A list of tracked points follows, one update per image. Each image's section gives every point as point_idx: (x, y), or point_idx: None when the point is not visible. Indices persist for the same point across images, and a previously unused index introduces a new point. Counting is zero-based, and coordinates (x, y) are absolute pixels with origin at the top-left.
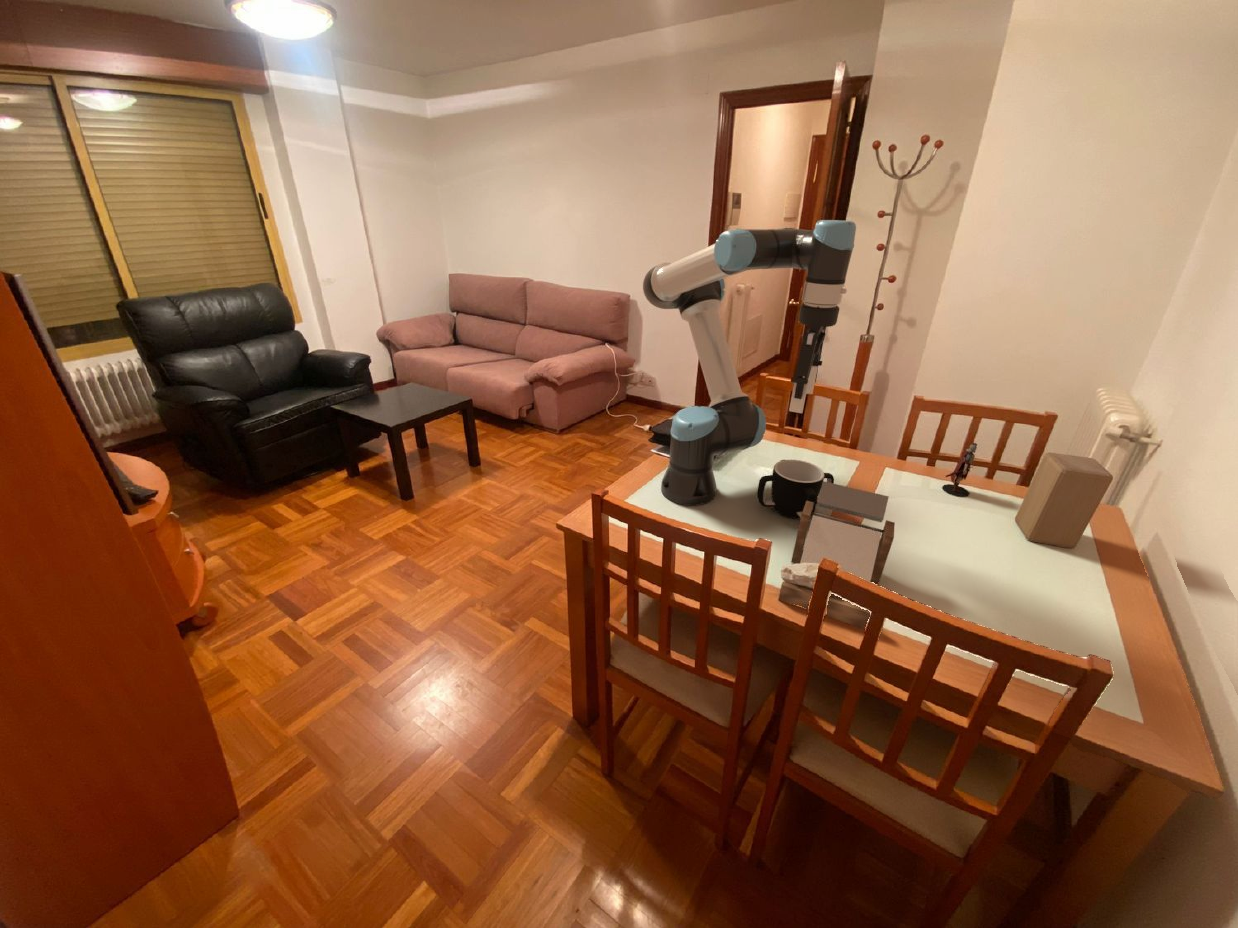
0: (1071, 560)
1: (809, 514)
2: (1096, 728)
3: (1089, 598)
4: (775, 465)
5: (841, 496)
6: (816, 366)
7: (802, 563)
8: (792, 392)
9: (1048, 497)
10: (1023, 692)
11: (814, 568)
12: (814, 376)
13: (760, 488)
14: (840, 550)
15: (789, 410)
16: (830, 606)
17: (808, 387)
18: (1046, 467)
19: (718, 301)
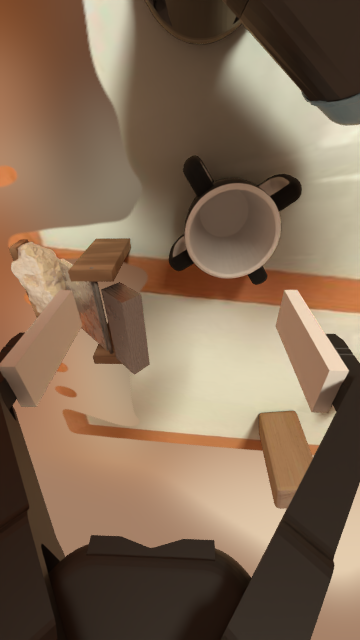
0: (241, 428)
1: (74, 280)
2: (68, 410)
3: (194, 427)
4: (233, 186)
5: (116, 322)
6: (324, 408)
7: (40, 268)
8: (26, 332)
9: (270, 457)
10: (68, 389)
11: (37, 282)
12: (298, 371)
13: (184, 164)
14: (81, 306)
15: (58, 292)
16: None
17: (285, 326)
18: (301, 477)
19: None
